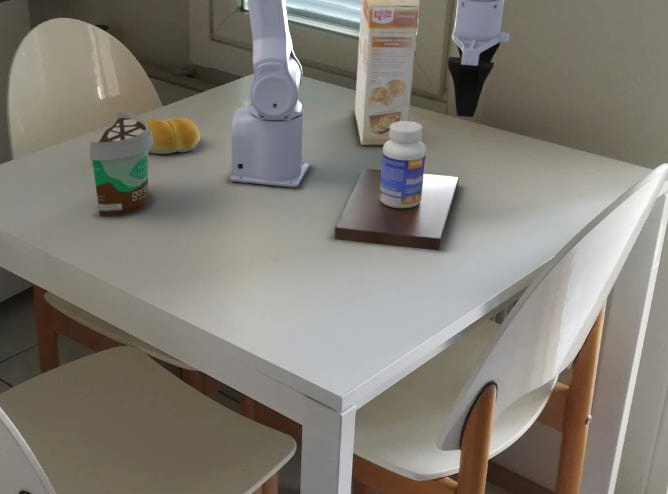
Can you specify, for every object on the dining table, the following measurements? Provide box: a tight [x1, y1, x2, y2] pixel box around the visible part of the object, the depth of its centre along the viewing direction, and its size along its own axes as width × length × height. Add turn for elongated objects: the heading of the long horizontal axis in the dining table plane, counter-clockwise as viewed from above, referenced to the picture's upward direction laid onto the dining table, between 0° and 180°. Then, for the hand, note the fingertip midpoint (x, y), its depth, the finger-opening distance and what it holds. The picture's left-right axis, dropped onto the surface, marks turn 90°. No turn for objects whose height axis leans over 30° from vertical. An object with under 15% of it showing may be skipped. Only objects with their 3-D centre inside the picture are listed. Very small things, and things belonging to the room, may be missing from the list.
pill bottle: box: [380, 121, 427, 208], centre depth 139 cm, size 5×5×10 cm
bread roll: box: [145, 117, 201, 155], centre depth 161 cm, size 8×9×4 cm
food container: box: [89, 111, 153, 217], centre depth 143 cm, size 12×6×10 cm, turn 168°
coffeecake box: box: [354, 0, 420, 146], centre depth 162 cm, size 15×7×20 cm, turn 179°
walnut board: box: [334, 167, 460, 251], centre depth 143 cm, size 13×20×2 cm, turn 165°
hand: (468, 105), depth 145 cm, fingers open, 7 cm apart
